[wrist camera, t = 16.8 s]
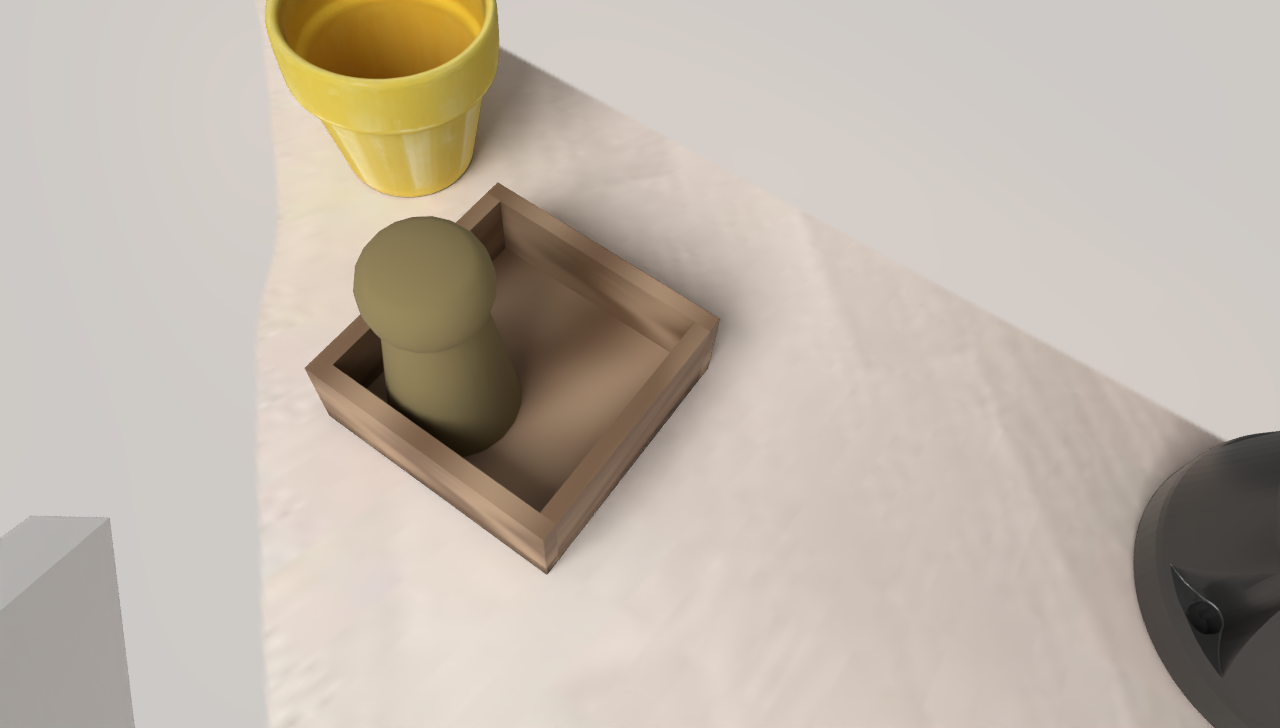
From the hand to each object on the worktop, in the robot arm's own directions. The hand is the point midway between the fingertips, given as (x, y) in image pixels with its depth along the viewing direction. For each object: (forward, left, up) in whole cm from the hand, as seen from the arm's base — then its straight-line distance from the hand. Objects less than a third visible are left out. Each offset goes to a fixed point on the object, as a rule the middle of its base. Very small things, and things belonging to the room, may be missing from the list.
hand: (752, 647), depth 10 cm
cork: (+17, -10, -29) cm, 35 cm away
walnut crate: (+15, -12, -30) cm, 35 cm away
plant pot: (+29, -20, -30) cm, 46 cm away
